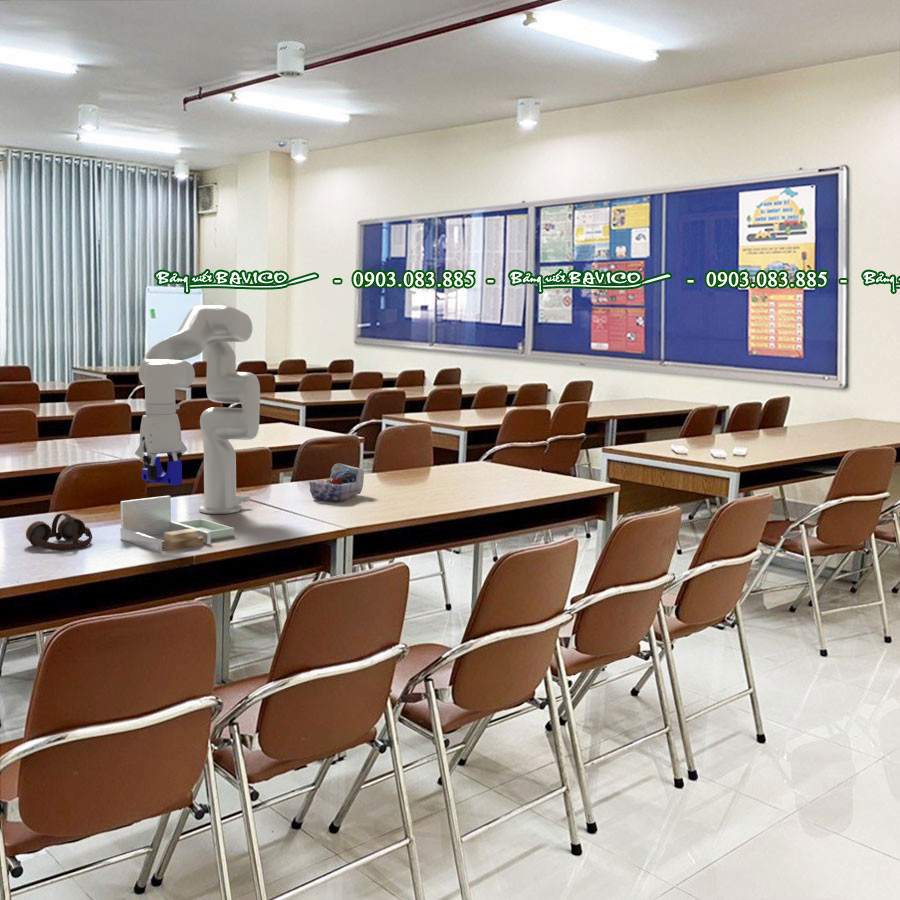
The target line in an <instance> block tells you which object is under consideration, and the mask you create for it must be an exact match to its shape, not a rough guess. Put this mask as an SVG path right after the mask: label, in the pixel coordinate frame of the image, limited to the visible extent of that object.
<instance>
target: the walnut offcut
mask: <svg viewBox="0 0 900 900" xmlns="http://www.w3.org/2000/svg"><path fill="white" fill-rule="evenodd" d="M161 540H162V551H163V550H165V551H166V552H173V551H178V550H184V549H185V550H186V549H189V548H195V547H202V546H204V543H203V538H201V537H199V538H197V539H191V540H185V541H179V542H173V543H170V542H167V541H164V539H161Z"/></svg>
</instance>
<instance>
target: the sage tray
mask: <svg viewBox="0 0 900 900" xmlns="http://www.w3.org/2000/svg"><path fill="white" fill-rule="evenodd" d="M176 522H177V523H180V524H184V525H187V526H190V527H193V528H197V529H200V530H203V531H207V532H210V533H211V542H213V541H218V540H224V539H230V538H231V539H232V538H235V527H232V526H228V525H225V524H222V523H218V522H215V521H212V520H209V519H205V518H196V519H195V518H194V519H189V520H188V519H187V520H182V521H181V520H180V521H176Z"/></svg>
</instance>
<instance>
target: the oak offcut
mask: <svg viewBox="0 0 900 900" xmlns="http://www.w3.org/2000/svg"><path fill="white" fill-rule="evenodd" d="M197 538H199V531H198V530H195V529H184V530H178V531H172V532H165V533H163V540H164V541H167V542H170V543H173V542H179V541H185V540H191V539H197Z"/></svg>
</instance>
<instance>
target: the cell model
mask: <svg viewBox="0 0 900 900" xmlns="http://www.w3.org/2000/svg"><path fill="white" fill-rule="evenodd" d="M364 474H365V471H364V468H362V467H361V468H360V467H355V466H351V465H347V464H343V463H335V464H334V465H333V466H332V468H331V470H330V477H329V478H324V479H315V480H309V482H308V483H309V488H310V489H309V491H310V492H309V493H310V494H311V497H312V499H314V500H318V501H321V502H333V503H336V502H337V503H339V502H345V501H348V500H349V499H352V498H354V497H356V496H357V495H360V494H361V493H362V490H363V487H364V479H365V478H364V477H365V475H364Z"/></svg>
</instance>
